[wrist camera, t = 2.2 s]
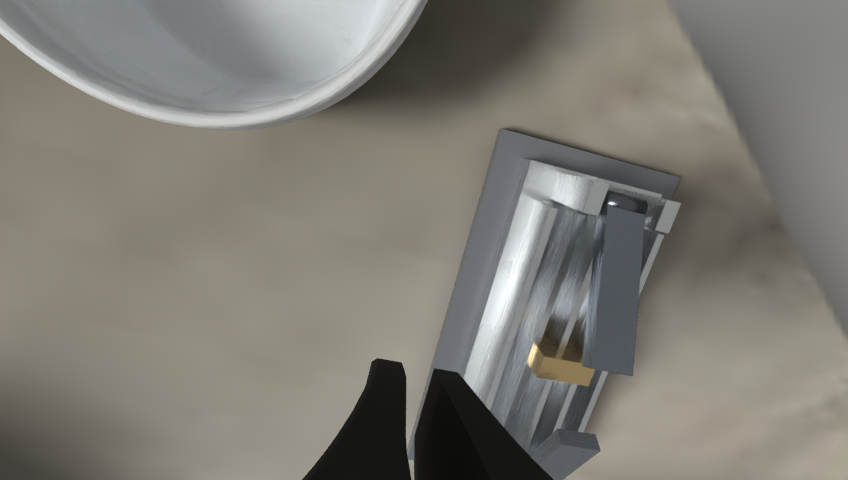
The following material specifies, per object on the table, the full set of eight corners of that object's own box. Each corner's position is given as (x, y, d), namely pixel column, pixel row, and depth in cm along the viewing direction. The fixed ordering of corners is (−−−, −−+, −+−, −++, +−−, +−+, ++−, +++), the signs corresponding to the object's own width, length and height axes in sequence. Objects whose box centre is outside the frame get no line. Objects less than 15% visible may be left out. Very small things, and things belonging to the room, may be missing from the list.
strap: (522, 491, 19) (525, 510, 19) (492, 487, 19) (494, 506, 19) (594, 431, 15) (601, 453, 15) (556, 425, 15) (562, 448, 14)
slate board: (553, 470, 24) (557, 479, 23) (407, 450, 22) (407, 459, 22) (671, 175, 19) (680, 177, 19) (499, 129, 18) (503, 129, 17)
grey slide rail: (542, 462, 23) (574, 530, 19) (434, 447, 22) (445, 515, 18) (647, 191, 19) (715, 206, 15) (523, 158, 18) (561, 165, 14)
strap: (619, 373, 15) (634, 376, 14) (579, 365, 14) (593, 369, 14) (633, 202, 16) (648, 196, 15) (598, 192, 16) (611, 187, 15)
